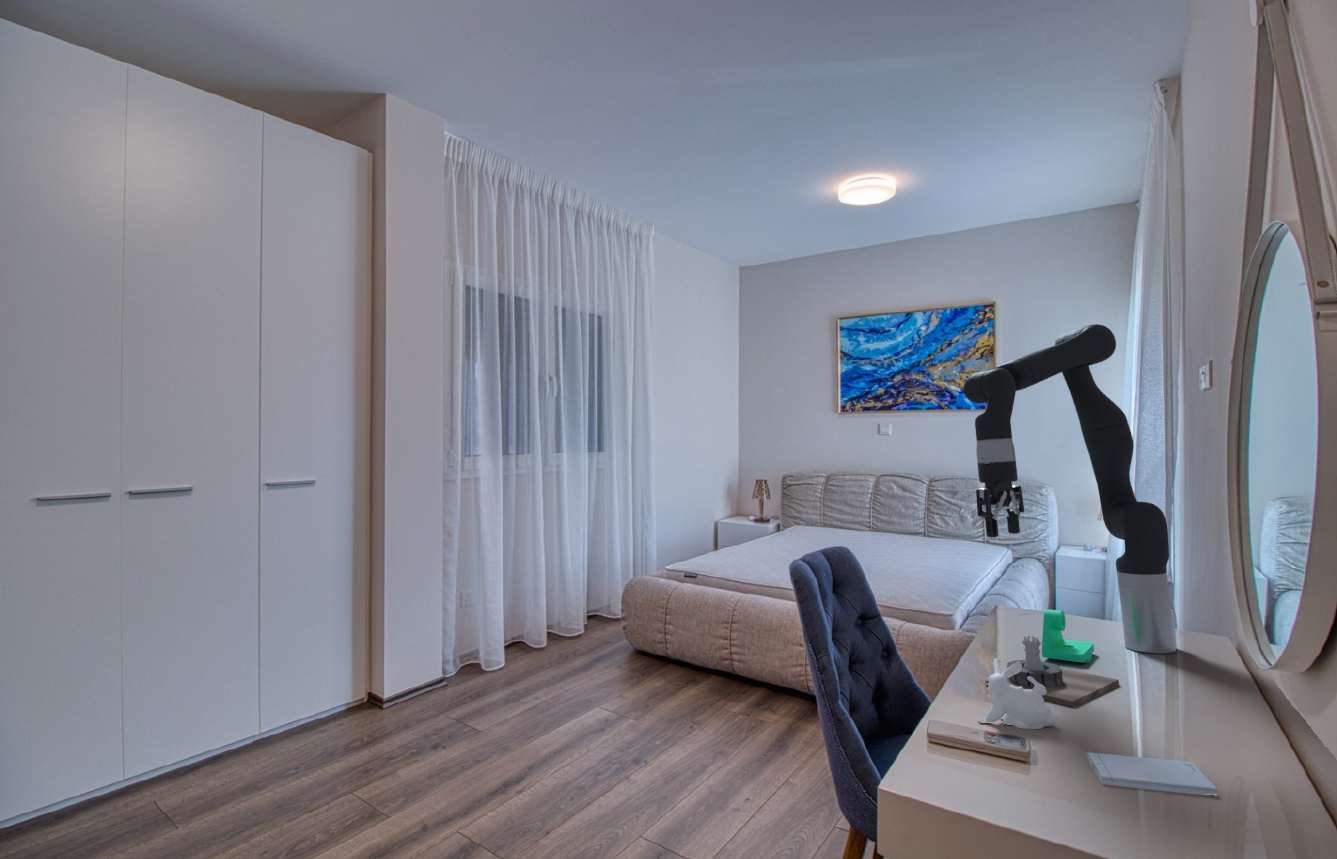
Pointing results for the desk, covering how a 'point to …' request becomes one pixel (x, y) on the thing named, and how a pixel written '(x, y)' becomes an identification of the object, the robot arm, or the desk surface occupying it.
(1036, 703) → the rabbit figurine
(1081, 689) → the socket board
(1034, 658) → the rook chess piece
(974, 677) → the desk surface
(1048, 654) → the camera mount
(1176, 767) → the hard drive
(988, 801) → the desk surface
